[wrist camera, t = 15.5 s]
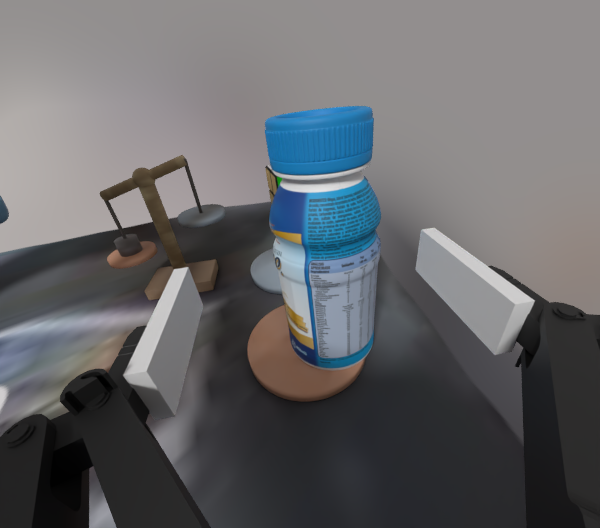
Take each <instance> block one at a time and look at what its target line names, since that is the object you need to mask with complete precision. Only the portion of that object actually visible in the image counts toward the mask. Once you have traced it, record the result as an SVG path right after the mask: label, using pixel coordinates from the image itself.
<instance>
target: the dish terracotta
mask: <svg viewBox="0 0 600 528" xmlns="http://www.w3.org/2000/svg"><path fill="white" fill-rule="evenodd" d="M247 351H248V359H249V362H250V366H251V369H252V371H253V374H254V376H255V377H256V379H257V381H258V382H259V383H260V384H261V385H262V386H263V387H264V388H265V389H266V390H268V391H269V392H271V393H272V394H274V395H276V396H278V397H281V398H284V399H287V400H291V401H299V402H310V401H318V400H322V399H326V398H329V397H331V396H334V395H336V394H338V393H339V392H341V391H343V390H344V389H346V388H347V387H348V386H350V385H351V384H352V383H353V382H354V381H355V380H356V378H357V377H358V376H359V374H360V372H361V371H362V369H363V366H364V363H365V360H366V357H365V358H364V359H363V360H362V361H361V362H359V363H358V364H356V365H354V366H352V367H350V368H347V369H343V370H336V371H328V370H321V369H317V368H314V367H312V366H310V365H308V364H306V363H305V362H303V361H302V360H301V359H300V358H299V357H298V356H297V355H296V353H295V352H294V350H293V348H292V345H291V341H290V335H289V327H288V321H287V315H286V310H285V305H283V306H280V307H278V308H276V309H275V310H273V311H271V312H270V313H268V314H267V315H266V316H264V317H263V318H262V319H261V320H260V321H259V322H258V324H257V325H256V326H255V328H254V329H253V331H252V333H251V335H250V338H249V341H248V348H247Z"/></svg>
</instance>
